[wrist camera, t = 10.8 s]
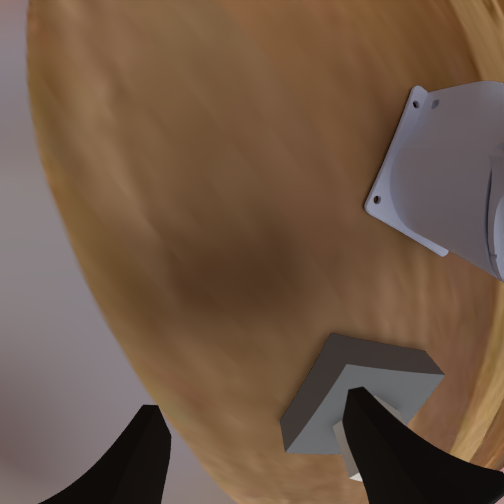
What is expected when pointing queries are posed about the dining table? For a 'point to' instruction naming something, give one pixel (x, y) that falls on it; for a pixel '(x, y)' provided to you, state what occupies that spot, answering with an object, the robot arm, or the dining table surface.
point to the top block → (344, 447)
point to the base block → (352, 376)
